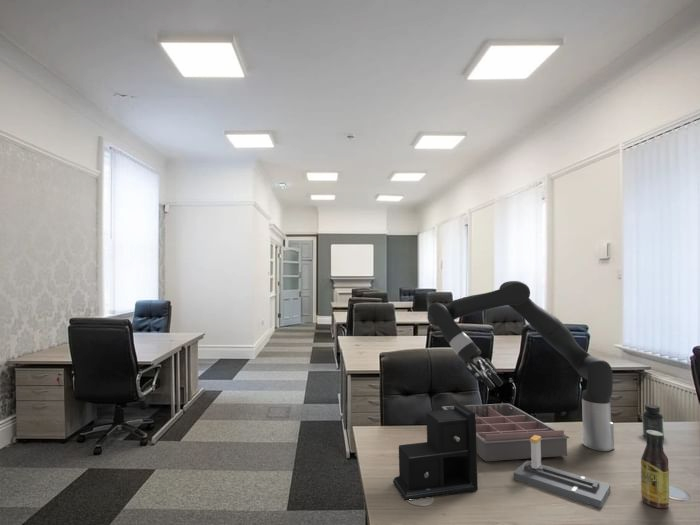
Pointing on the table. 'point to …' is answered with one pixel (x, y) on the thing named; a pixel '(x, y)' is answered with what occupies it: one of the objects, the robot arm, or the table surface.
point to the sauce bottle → (655, 471)
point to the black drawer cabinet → (441, 457)
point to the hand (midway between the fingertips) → (497, 386)
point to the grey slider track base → (564, 483)
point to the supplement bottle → (652, 419)
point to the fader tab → (536, 452)
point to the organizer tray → (512, 433)
